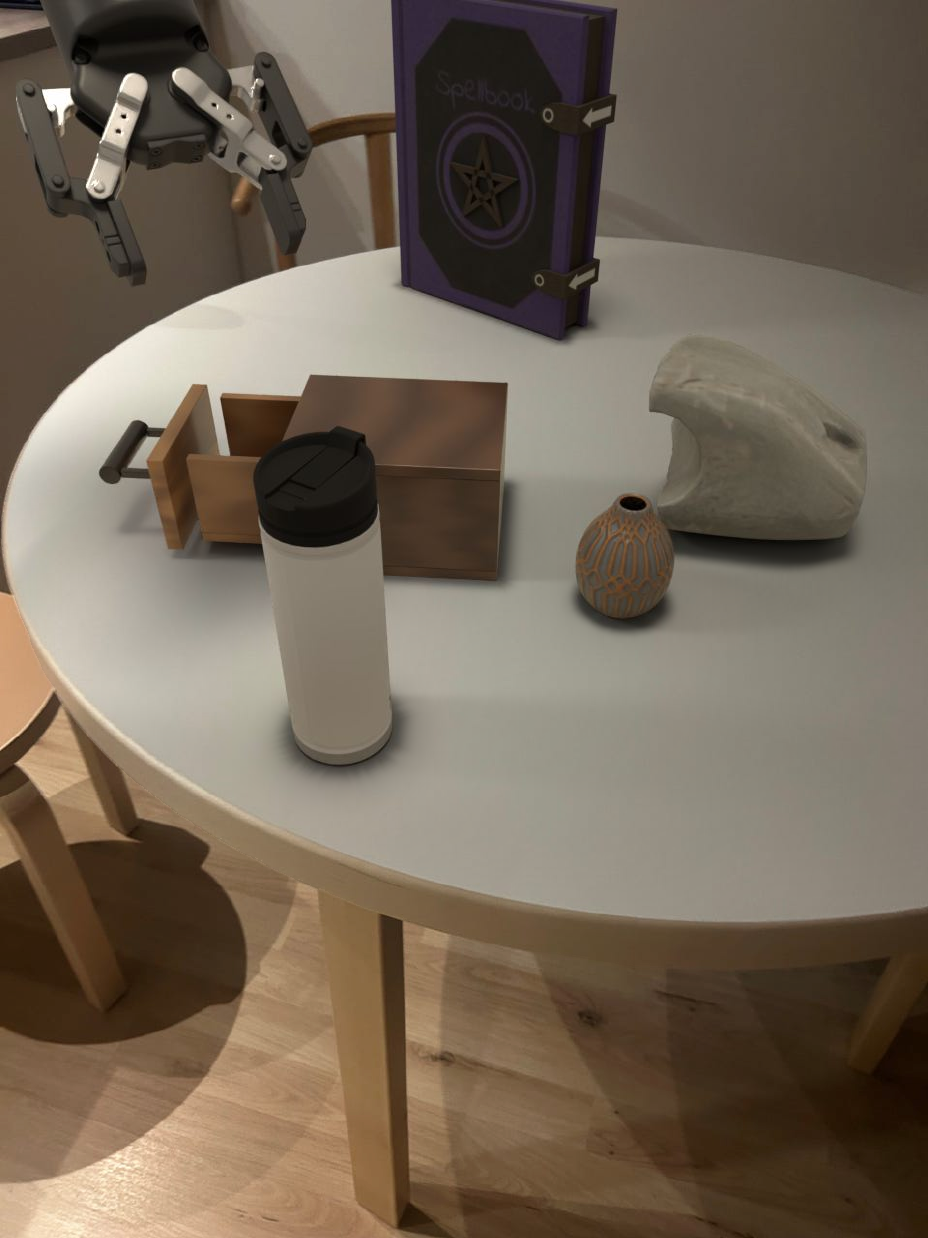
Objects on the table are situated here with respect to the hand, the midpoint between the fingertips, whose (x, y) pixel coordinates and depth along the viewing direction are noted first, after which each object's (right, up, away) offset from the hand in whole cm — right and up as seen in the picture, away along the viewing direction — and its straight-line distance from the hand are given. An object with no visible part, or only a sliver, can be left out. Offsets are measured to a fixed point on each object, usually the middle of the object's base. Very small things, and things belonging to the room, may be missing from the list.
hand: (218, 263), depth 51 cm
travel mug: (+5, -26, +10) cm, 28 cm away
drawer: (-4, -10, +27) cm, 29 cm away
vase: (+24, -18, +20) cm, 36 cm away
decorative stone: (+35, -11, +28) cm, 46 cm away
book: (+16, +17, +59) cm, 64 cm away
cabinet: (+8, -11, +27) cm, 30 cm away
